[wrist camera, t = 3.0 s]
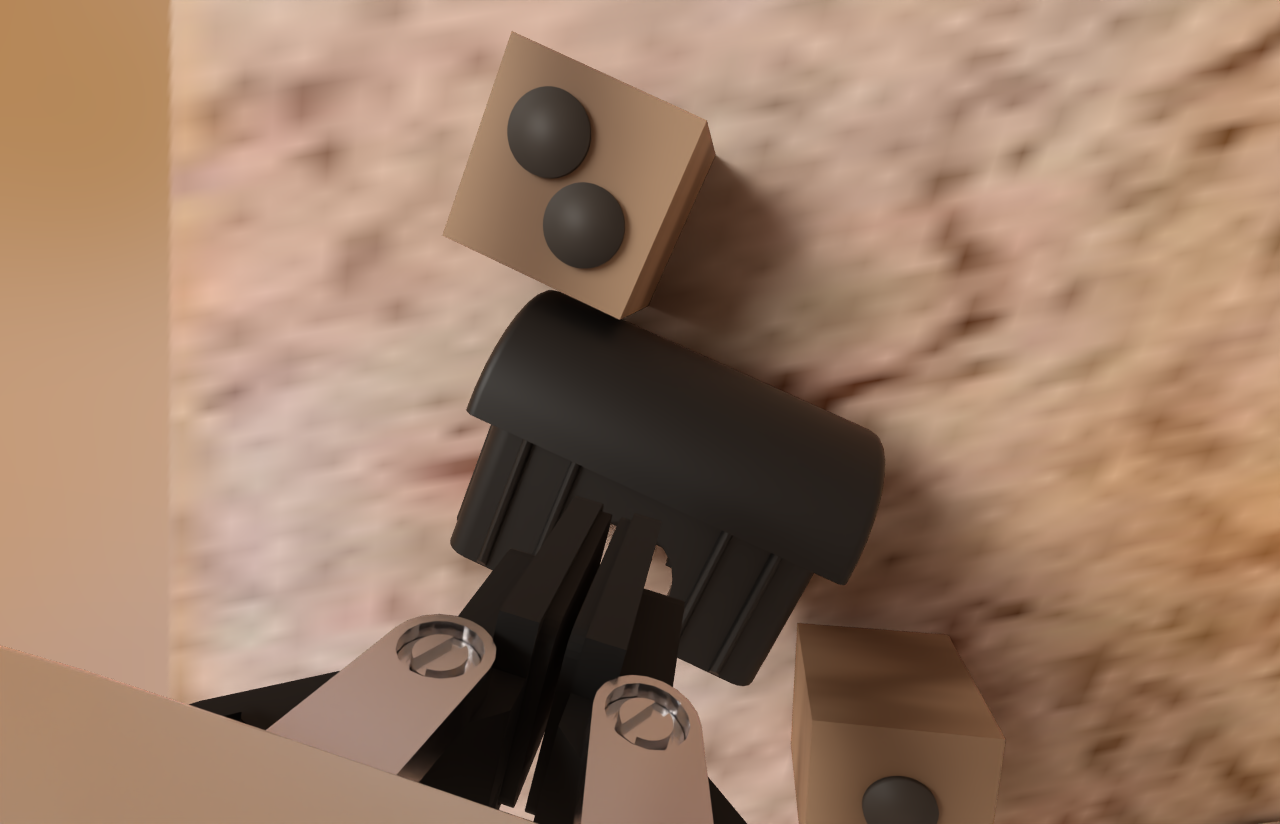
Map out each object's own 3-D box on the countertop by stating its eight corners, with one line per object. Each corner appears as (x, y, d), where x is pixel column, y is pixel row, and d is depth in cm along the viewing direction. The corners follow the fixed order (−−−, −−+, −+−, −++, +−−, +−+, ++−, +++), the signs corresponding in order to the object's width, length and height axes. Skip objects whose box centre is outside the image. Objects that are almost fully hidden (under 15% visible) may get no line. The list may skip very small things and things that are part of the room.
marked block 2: (947, 633, 22) (1009, 744, 17) (933, 757, 23) (986, 896, 18) (797, 621, 22) (812, 725, 17) (790, 742, 24) (803, 871, 19)
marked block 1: (715, 155, 19) (706, 118, 14) (648, 305, 21) (617, 320, 16) (568, 87, 20) (508, 28, 14) (511, 241, 21) (438, 235, 16)
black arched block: (859, 407, 20) (914, 475, 14) (763, 585, 22) (771, 719, 16) (578, 281, 21) (503, 291, 14) (507, 467, 23) (413, 549, 16)
